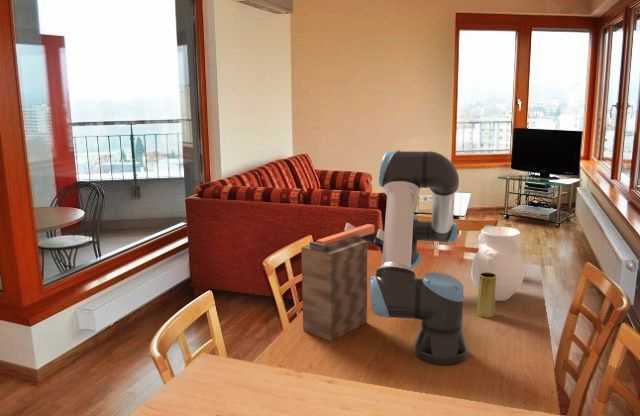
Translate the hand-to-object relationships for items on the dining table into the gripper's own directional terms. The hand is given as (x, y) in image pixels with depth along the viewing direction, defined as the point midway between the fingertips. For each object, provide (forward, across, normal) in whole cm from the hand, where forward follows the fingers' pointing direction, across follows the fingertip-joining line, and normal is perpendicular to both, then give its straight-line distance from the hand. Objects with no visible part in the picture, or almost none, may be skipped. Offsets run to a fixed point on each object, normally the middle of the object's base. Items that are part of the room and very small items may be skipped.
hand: (361, 229), depth 188 cm
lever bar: (+6, 0, -6) cm, 8 cm away
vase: (-38, -33, -13) cm, 52 cm away
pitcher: (-54, -28, -4) cm, 61 cm away
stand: (-3, 0, -33) cm, 33 cm away
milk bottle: (-72, -14, +7) cm, 73 cm away
